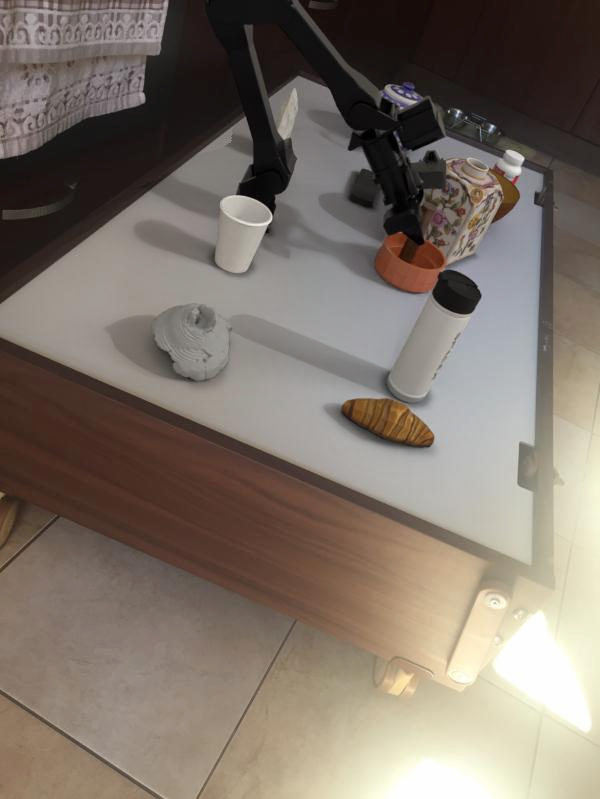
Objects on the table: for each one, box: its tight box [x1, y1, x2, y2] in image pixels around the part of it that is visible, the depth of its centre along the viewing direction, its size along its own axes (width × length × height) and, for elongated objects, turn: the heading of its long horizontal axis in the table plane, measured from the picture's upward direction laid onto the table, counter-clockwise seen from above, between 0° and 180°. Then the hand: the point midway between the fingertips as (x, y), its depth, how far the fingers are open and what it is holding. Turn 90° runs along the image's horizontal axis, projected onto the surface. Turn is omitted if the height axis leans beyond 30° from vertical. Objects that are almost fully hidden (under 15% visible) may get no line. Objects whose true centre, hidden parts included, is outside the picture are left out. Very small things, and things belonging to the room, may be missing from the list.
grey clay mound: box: [150, 303, 234, 382], centre depth 97 cm, size 12×12×11 cm
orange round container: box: [373, 232, 447, 294], centre depth 132 cm, size 12×12×6 cm
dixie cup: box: [214, 194, 273, 274], centre depth 116 cm, size 8×8×10 cm
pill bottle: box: [492, 149, 525, 186], centre depth 170 cm, size 6×6×11 cm
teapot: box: [379, 81, 424, 153], centre depth 173 cm, size 25×15×15 cm, turn 166°
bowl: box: [444, 157, 521, 225], centre depth 155 cm, size 18×18×10 cm
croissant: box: [341, 397, 436, 448], centre depth 99 cm, size 14×7×5 cm, turn 77°
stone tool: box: [275, 87, 299, 140], centre depth 149 cm, size 8×3×15 cm, turn 156°
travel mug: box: [385, 268, 483, 404], centre depth 103 cm, size 6×7×20 cm
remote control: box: [349, 168, 379, 208], centre depth 155 cm, size 5×2×15 cm
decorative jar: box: [420, 157, 504, 266], centre depth 141 cm, size 12×12×18 cm
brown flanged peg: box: [398, 202, 437, 265], centre depth 128 cm, size 4×4×13 cm
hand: (422, 240), depth 129 cm, fingers closed on brown flanged peg, 2 cm apart
